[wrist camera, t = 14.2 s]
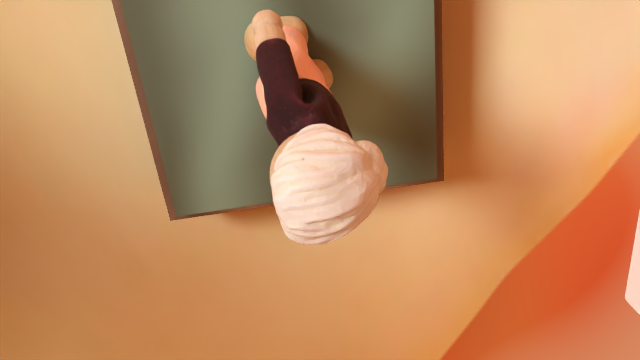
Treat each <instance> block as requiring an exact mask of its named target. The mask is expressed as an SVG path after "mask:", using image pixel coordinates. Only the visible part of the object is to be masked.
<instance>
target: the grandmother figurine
mask: <svg viewBox="0 0 640 360" xmlns="http://www.w3.org/2000/svg"><path fill="white" fill-rule="evenodd" d="M244 43H245V47H246V50H247V52H248V54H249V56H250V57H251V58H252V59H253V60H255V61H256V63H257V69H258V73H259V76H260V77H259V78H258V80H257V83H256V95H257V98H258V101H259V104H260V107H261V109H262V112H263V114H264V116H265V118H266V119H267V120H266V125H267V128H268V130H269V132H270V133H271V135H272V136H273V138H274V139H275V141H276V142H277V144H278V146H279V148H278V149H277V151H276V152H275V154H274V156H273V159H272V161H271V166H270V184H271V188H272V195H273V203H274V206H275V210H276V213H277V215H278V217H279V220H280V223H281V226H282V228H283V230H284V233H285V234H286V236H287V237H288V238H289V239H291V240H293V241H295V242H297V243H299V244H309V245H322V244H326V243H330V242H333V241H335V240H337V239H339V238H341V237H342V236H344V235H346V234H347V233H349V232H350V231H352V230H353V229H354V228H356V227H357V226H358V225H359V224H360V223H361V222H362V221H363V220H364V219H365V218H367V217H368V215H369V214H370V213H371V211H372V210H373V208H374V207H375V205H376V203H377V200H378V195H379V194H380V193H381V192H382V191H383V189H384V188H385V185H386V179H387V176H388V167H387V165H386V163H385V161H384V158H383V154H382V152H381V151H380V149H379V148H378V146H377V145H375V144H374V143H372V142H370V141H366V140H363V141H353V138H352V134H351V132H350V130H349V127H348V124H347V122H346V119H345V117H344V114H343V111H342V109H341V106H340V105H339V103H338V102H337V101H336V99H335V98H334V96H333V95H332V93H331V92H330V90H329V88H330V87H331V85H332V83H333V74H332V72H331V70H330V68H329V67H328V65H327V64H326V63H325V62H324V61H322V60H319V59H311V58H310V56H309V55H308V48H307V43H308V31H307V28H306V25H305V23H304V22H303V21H302V20H301V19H300V18H298V17H296V16H281V17H280V16H279V15H278V14H277V13H276V12H275V11H272V10H262V11H259V12H258V13H257V14H256V15H255V16H254V18H253V20H252V23H251V24H249V25H248V27H247V29H246V31H245V35H244Z"/></svg>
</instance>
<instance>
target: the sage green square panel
mask: <svg viewBox="0 0 640 360" xmlns="http://www.w3.org/2000/svg"><path fill="white" fill-rule="evenodd" d="M112 3H113V7H114V11H115V15H116V18H117V22H118V26H119V30H120V33H121V37H122V41H123V45H124V48H125V52H126V56H127V60H128V63H129V67H130V71H131V75H132V78H133V82H134V86H135V90H136V93H137V97H138V101H139V105H140V108H141V112H142V116H143V120H144V123H145V127H146V131H147V135H148V138H149V142H150V146H151V150H152V153H153V157H154V161H155V165H156V168H157V172H158V176H159V180H160V183H161V187H162V191H163V194H164V198H165V202H166V206H167V209H168V213H169V217H170V221H171V220H177V219H184V218H191V217H198V216H205V215H212V214H218V213H225V212H232V211H239V210H246V209H253V208H260V207H266V206H273V205H274V203H273V195H272V188H271V184H270V166H271V161H272V159H273V156H274V154H275V152H276V151H277V149H278V148H279V146H278V144H277V142H276V141H275V139H274V138H273V136H272V135H271V133H270V132H269V130H268V128H267V125H266V120H267V119H266V118H265V116H264V114H263V112H262V109H261V107H260V104H259V101H258V98H257V95H256V83H257V80H258V78H259V77H260V76H259V73H258V69H257V63H256V61H255V60H253V59H252V58H251V57H250V56H249V54H248V52H247V50H246V47H245V43H244V35H245V31H246V29H247V27H248V25H249V24H251V23H252V20H253V18H254V16H255V15H256V14H257V13H258V12H259V11H262V10H272V11H275V12H276V13H277V14H278V15H279V16H280V17H281V16H296V17H298V18H300V19H301V20H302V21H303V22H304V23H305V25H306V28H307V31H308V43H307V48H308V55H309V56H310V58H311V59H319V60H322V61H324V62H325V63H326V64H327V65H328V67H329V68H330V70H331V72H332V74H333V83H332V85H331V87H330V88H329V90H330V92H331V93H332V95H333V96H334V98H335V99H336V101H337V102H338V103H339V105H340V106H341V109H342V111H343V114H344V117H345V119H346V122H347V124H348V127H349V130H350V132H351V134H352V138H353V141H363V140H366V141H370V142H372V143H374V144H375V145H377V146H378V148H379V149H380V151H381V152H382V154H383V158H384V161H385V163H386V165H387V167H388V176H387V179H386V185H385V188H384V189H390V188H396V187H403V186H410V185H417V184H424V183H431V182H438V181H444V162H443V82H442V2H441V0H112Z"/></svg>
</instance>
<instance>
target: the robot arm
mask: <svg viewBox="0 0 640 360" xmlns="http://www.w3.org/2000/svg"><path fill="white" fill-rule="evenodd" d="M625 299H626V301H627V302H628V303H629V304H630V305H631V306H632V307H633V308H634V309H635V310H636V311H637V313H638V314H639V315H640V211H639V217H638V223H637V229H636V235H635V241H634V246H633V253H632V258H631V264H630V271H629V276H628V282H627V288H626V294H625Z"/></svg>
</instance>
